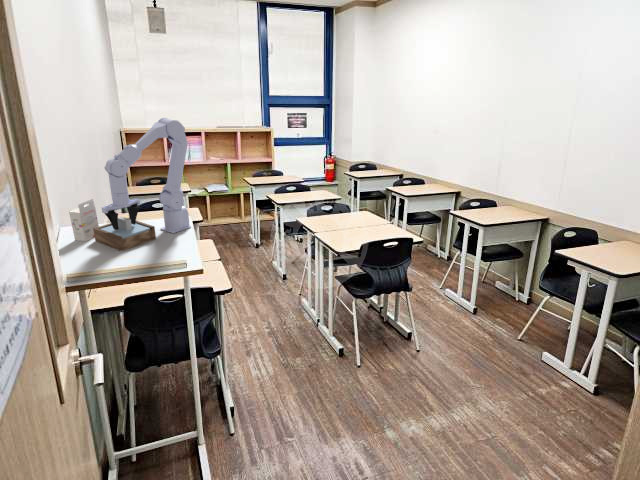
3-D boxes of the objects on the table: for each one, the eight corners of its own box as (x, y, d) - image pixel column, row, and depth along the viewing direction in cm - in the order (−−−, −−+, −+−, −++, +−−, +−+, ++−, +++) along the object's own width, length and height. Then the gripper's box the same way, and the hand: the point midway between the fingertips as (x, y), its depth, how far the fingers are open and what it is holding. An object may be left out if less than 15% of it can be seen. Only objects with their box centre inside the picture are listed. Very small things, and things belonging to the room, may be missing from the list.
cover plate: (127, 222, 174) (126, 211, 172) (150, 230, 167) (148, 218, 165) (99, 231, 164) (97, 219, 162) (122, 239, 157) (120, 226, 155)
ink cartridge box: (89, 232, 173) (83, 197, 167) (100, 234, 172) (94, 198, 166) (74, 240, 165) (66, 203, 159) (85, 242, 164) (78, 204, 159)
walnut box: (130, 230, 177) (128, 218, 175) (155, 238, 169) (154, 226, 167) (95, 241, 165) (93, 228, 163) (121, 251, 157) (119, 237, 155)
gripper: (130, 186, 167) (134, 219, 172) (94, 194, 156) (100, 229, 161) (141, 189, 164) (146, 223, 169) (106, 197, 153) (112, 233, 158)
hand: (124, 226), depth 165 cm, fingers open, 7 cm apart
